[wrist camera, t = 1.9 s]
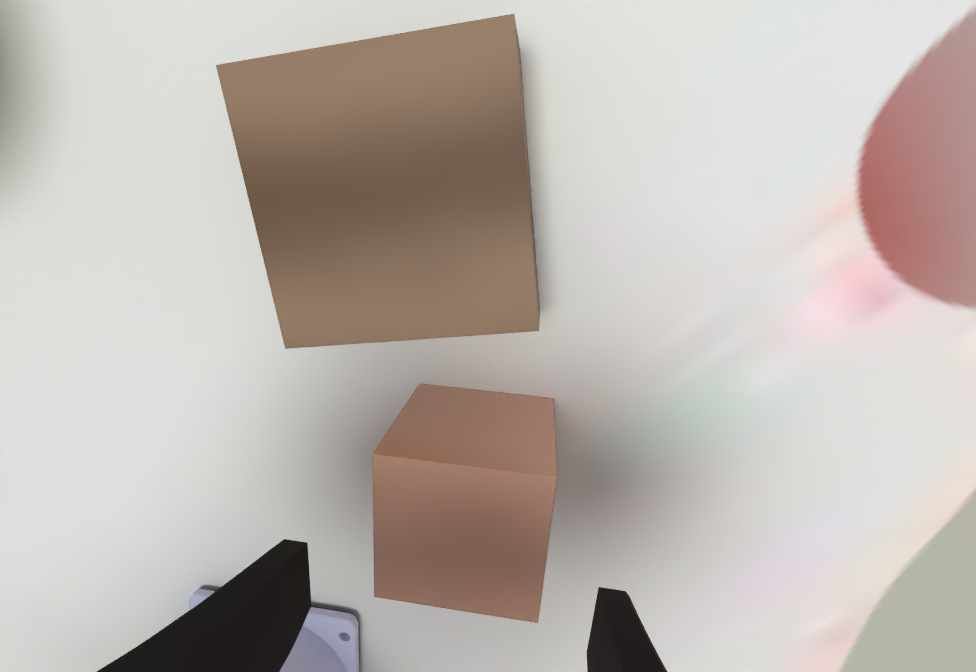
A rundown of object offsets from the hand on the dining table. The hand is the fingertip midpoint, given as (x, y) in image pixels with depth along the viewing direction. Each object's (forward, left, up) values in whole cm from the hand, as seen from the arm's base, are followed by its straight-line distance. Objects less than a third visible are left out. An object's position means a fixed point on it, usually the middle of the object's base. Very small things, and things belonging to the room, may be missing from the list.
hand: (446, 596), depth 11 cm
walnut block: (+9, +3, -7) cm, 12 cm away
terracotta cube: (0, 0, -7) cm, 7 cm away
